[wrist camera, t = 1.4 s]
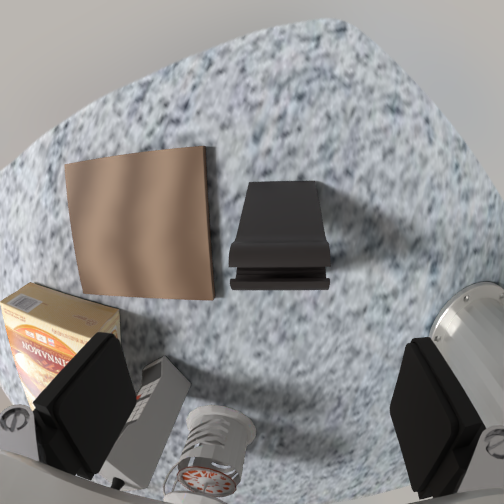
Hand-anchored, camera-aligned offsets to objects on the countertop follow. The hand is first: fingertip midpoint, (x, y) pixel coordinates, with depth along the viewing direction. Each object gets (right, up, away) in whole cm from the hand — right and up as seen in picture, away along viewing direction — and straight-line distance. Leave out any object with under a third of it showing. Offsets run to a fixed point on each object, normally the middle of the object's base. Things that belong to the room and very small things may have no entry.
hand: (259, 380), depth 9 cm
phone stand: (+3, +6, +21) cm, 22 cm away
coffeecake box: (-23, -2, +22) cm, 32 cm away
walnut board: (-12, +7, +22) cm, 26 cm away
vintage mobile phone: (-11, -11, +28) cm, 32 cm away
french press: (-5, -21, +30) cm, 37 cm away
